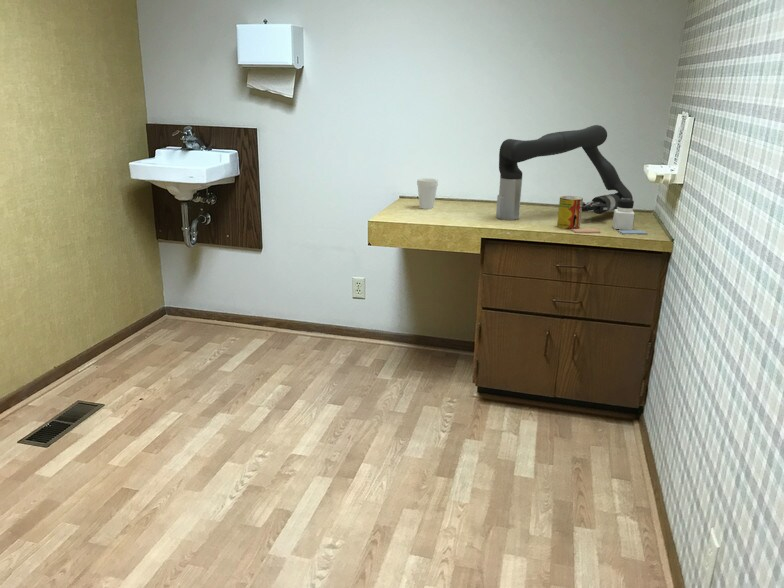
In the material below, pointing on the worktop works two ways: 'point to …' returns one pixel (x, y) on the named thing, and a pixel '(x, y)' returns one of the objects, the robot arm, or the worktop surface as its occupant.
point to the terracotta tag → (585, 230)
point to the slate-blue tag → (632, 232)
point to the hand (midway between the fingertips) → (583, 209)
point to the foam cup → (427, 192)
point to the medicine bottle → (624, 215)
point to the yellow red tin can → (569, 212)
